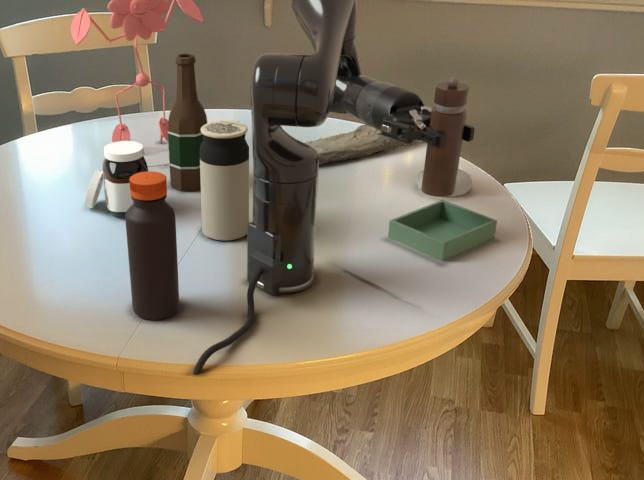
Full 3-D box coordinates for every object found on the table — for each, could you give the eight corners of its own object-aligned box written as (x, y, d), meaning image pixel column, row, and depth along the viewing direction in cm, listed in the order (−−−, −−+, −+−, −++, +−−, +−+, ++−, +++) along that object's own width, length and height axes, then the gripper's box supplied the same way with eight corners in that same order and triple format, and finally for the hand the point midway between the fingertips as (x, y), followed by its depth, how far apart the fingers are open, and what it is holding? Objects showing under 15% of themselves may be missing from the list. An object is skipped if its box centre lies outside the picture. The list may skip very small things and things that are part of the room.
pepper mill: (439, 199, 133) (456, 84, 123) (414, 189, 136) (428, 76, 126) (461, 191, 136) (479, 77, 125) (435, 181, 139) (451, 70, 129)
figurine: (80, 153, 177) (60, -28, 158) (195, 136, 185) (189, -39, 166) (99, 178, 165) (80, -15, 146) (221, 158, 173) (218, -27, 154)
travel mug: (226, 246, 139) (225, 139, 129) (192, 232, 144) (188, 128, 134) (258, 230, 144) (259, 126, 134) (224, 218, 148) (222, 116, 138)
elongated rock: (275, 164, 173) (303, 182, 166) (275, 140, 170) (303, 157, 163) (408, 125, 186) (439, 140, 179) (411, 101, 182) (443, 116, 176)
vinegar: (171, 323, 119) (164, 189, 108) (126, 317, 120) (114, 185, 109) (185, 300, 124) (179, 170, 113) (141, 295, 126) (132, 166, 115)
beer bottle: (216, 188, 160) (214, 57, 146) (177, 195, 157) (171, 63, 144) (201, 174, 166) (197, 48, 153) (164, 180, 164) (157, 52, 150)
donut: (415, 200, 153) (472, 202, 152) (417, 182, 152) (474, 184, 150) (415, 179, 162) (469, 181, 160) (416, 162, 160) (471, 164, 158)
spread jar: (156, 217, 149) (152, 154, 143) (93, 227, 146) (86, 162, 140) (139, 193, 159) (135, 132, 152) (80, 201, 156) (73, 140, 149)
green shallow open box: (441, 264, 132) (444, 243, 130) (387, 240, 140) (389, 220, 138) (493, 240, 139) (497, 220, 137) (439, 218, 146) (442, 199, 144)
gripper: (355, 92, 137) (423, 121, 124) (425, 79, 142) (497, 106, 129) (351, 137, 141) (417, 170, 128) (420, 123, 146) (489, 153, 134)
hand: (457, 138), depth 129 cm, fingers closed on pepper mill, 5 cm apart
